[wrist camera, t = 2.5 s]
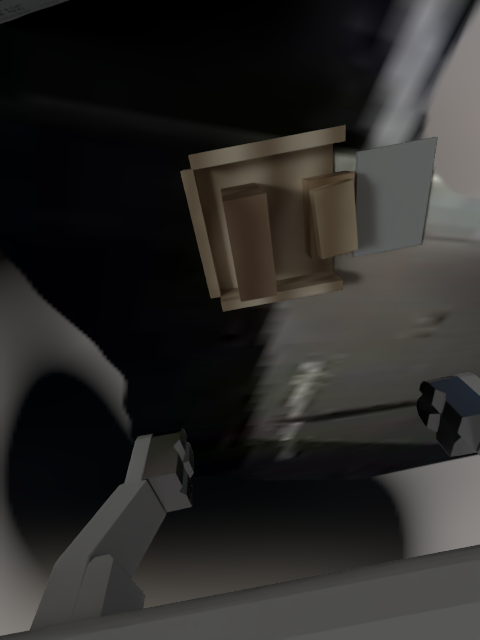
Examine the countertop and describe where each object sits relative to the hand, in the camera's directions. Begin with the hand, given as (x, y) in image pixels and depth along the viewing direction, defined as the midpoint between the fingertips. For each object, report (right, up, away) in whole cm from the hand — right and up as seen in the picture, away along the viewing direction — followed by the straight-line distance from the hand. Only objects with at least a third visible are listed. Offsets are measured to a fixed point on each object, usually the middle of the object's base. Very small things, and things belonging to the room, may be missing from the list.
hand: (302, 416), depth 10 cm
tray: (+1, +14, +23) cm, 27 cm away
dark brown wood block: (-2, +13, +23) cm, 26 cm away
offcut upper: (+7, +14, +20) cm, 26 cm away
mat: (+14, +16, +23) cm, 31 cm away
